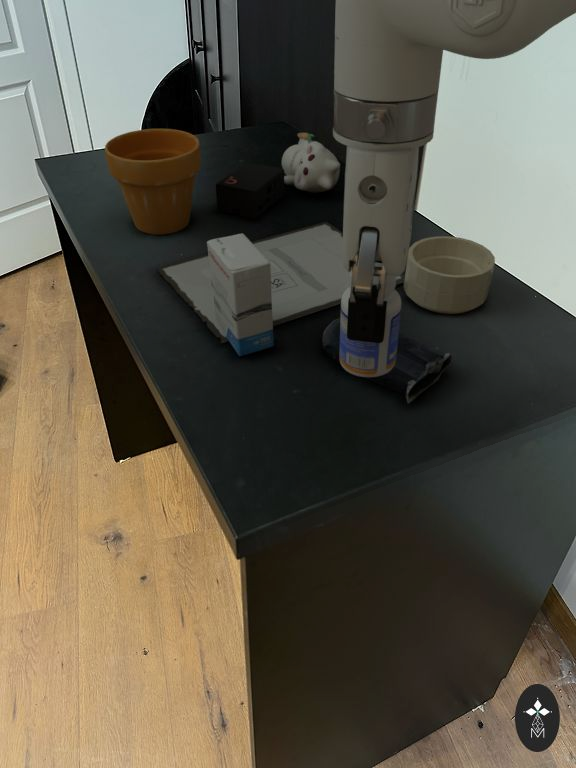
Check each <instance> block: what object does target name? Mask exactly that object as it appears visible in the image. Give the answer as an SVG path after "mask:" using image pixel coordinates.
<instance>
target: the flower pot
mask: <svg viewBox="0 0 576 768" xmlns="http://www.w3.org/2000/svg"><path fill="white" fill-rule="evenodd" d="M104 153H105V157H106V163H107V168H108V171H109V175H110V176H112V178H114V179H115V180H116V181H117V183H118V185H119V188H120V190H121V193H122V196H123V199H124V201H125V204H126V206H127V209H128V211H129V214H130V216H131V219H132V221H133V224H134V227H135V228H136V229H137V230H139V232H142V233H145V234H148V235H156V236H157V235H169V234H174V233H177V232H180V231H182V230H184V229H185V228H186V227H187V226H188V225H189V223H190V218H191V212H192V206H193V205H192V204H193V195H194V187H195V178H196V175H197V173H198V172H199V171H200V169H201V166H202V165H201V163H202V162H201V161H202V159H201V144H200V140H199V138H198V137H197V136H196V135H194V134H193V133H190V132H187V131H185V130H180V129H174V128H173V129H172V128H146V129H138V130H133V131H129V132H125V133H122V134H119V135H117V136H114V137H113V138H111V139H110V140H109V141H107V142H106V144H105V145H104Z"/></svg>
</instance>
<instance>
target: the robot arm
mask: <svg viewBox="0 0 576 768" xmlns="http://www.w3.org/2000/svg"><path fill="white" fill-rule="evenodd" d="M575 14H576V0H335V15H334V17H335V18H334V19H335V20H334V21H335V22H334V61H333V62H334V65H333V67H334V69H333V106H332V107H333V111H332V114H333V115H332V137H333V138H334V140H335V141H336V142H338V143H339V144H341V145H343V146H346V155H345V171H344V192H343V217H342V222H343V223H342V233H343V266H344V268H345V269H346V270H347V271H348V272H351V270H352V280H351V291H350V297H349V300H348V320H347V338H348V339H349V340H355V341H364V342H372V343H382V342H383V340H384V332H385V321H386V309H387V301H384V295H385V285H386V276H387V274H390V275H395V277H398V276H400V275H401V274H404V273H405V271H406V265H407V258H408V251H409V248H410V246H411V238H412V231H413V220H414V209H415V199H416V191H417V190H416V189H417V180H418V169H419V152H420V147H423V146H425V145H427V144H428V143H431V141H432V140H433V139H434V133H435V123H436V114H437V105H438V99H439V98H438V96H439V90H440V89H439V88H440V82H441V74H442V73H441V72H442V66H443V65H442V63H443V55H444V51H445V52H449V53H452V54H456V55H459V56H463V57H467V58H473V59H479V60H495V59H500V58H505V57H509V56H511V55H514V54H516V53H518V52H520V51H522V50H523V49H525V48H526V47H528V46H529V45H531V44H532V43H534V42H535V41H537V40H538V39H539V38H540V37H542V36H544V34H545V33H547V32H548V31H549V30H551V29H552V28H554V27H555V26H557V25H558V24H560V23H561V22H563V21H565V20H566V19H568V18H570V17H571V16H573V15H575ZM375 262H377V263H382V267H376V266H375ZM374 276H379V283H378V289H377V285H373V277H374Z"/></svg>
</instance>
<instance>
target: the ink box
mask: <svg viewBox="0 0 576 768" xmlns="http://www.w3.org/2000/svg"><path fill="white" fill-rule="evenodd" d="M251 242H252V241H251V240H250V239H249V238H248V237H247V236H246V235H245V234H244V233H242V232H241V233H237V234H233V235H228V236H222V237H217V238H213V239H209V240H208V241H206V246H207V254H208V255H209V263H210V272H211V281H212V290H213V299H214V308H215V317H216V323H217V324H218V326H219V327H220V329H221V330H222V332H223V333H224V334H225V336H226V337H227V339H228V340H229V341H228V342H229V344H230V345H231V347H232V348H233V349H234V351H235V352H236V354H237V355H238V357H243V356H246V355H250V354H253V353H257V352H260V351H264V350H266V349H269V348H272V347H274V346H275V343H274V341H275V340H274V326H273V319H272V295H271V270H270V262H269V261H268V260H267V259H266V258H265V257H264V256H263V255H262V253H261V252H260V251H259V250H258V249H257V248H256V247H255V246H254V245H253V244H252V243H251Z"/></svg>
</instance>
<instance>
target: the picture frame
mask: <svg viewBox="0 0 576 768" xmlns="http://www.w3.org/2000/svg"><path fill="white" fill-rule="evenodd" d="M250 242H251V243H252V244H253V245H254V246H255V247H256V248H257V249H258V250H259V251H260V252H261V253H262V255H263V256H264V257H265V258H266V259H267V260H268V261H269V262H270V270H271V295H272V319H273V327H274V326H277V325H281V324H283V323H286V322H290V321H292V320H295V319H298V318H302V317H304V316H307V315H310V314H313V313H316V312H319V311H322V310H325V309H328V308H331V307H335V306H337V305H341V298H342V295H343V293H344V292H345V291H346V289H348V288H349V287H350V286H349V279H350V272H348V271H347V270H346V269H345V268H344V266H343V231H341V230H339V229H338V228H337V227H336V226H333V225H332V224H331V223H329V222H328V221H323V222H320V223H316V224H312V225H309V226H306V227H305V226H304V227H300V228H298V229H294V230H290V231H287V232H282V233H280V234H274V235H272V236H269V237H265V238H261V239H257V240H253V241H250ZM155 269H156V271H157V272H158V274H159V275H160V276H161V277H162V278H163V279H164V280H165V281H166V283H168V284H170V286H171V287H172V288H173V289H174V291H175V293H176V294H177V295H179V296H180V298H182V299H183V300H184V301H185V303H186V304H188V307H190V308H191V309H193V310H194V311H193V313H194V314H197V315H198V317H199V318H200V319H201V322H203V323H206V326H207V328H208V330H210V332H212V333H213V335H214V336H215V337H216V338H217V339H218V338H219V339H220V344H223V343H226V342H229V340H228V339H227V337H226V336H225V334H224V333H223V332H222V330H221V329H220V327H219V326H218V324H217V323H216V317H215V308H214V299H213V290H212V281H211V272H210V263H209V255H208V253H205V254H201V255H198V256H194V257H191V258H187V259H184V260H180V261H176V262H172V263H169V264H165V265H161V266H157V267H155ZM404 281H405V274H404V273H402V274H401V275H400V276H398V277H396V286H397V285H400V284H402V283H403V284H404Z"/></svg>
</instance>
